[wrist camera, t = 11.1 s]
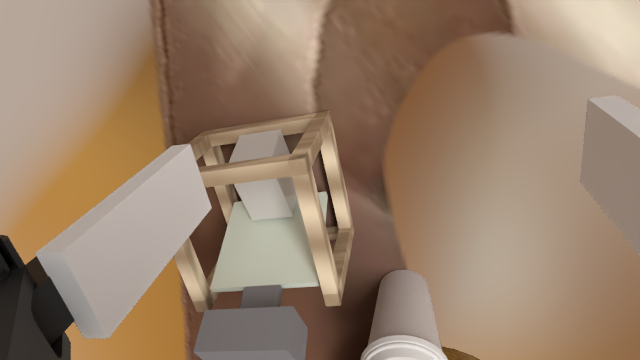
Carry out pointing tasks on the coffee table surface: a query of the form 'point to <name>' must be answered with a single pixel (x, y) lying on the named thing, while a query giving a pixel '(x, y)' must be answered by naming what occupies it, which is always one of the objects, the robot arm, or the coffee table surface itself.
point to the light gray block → (265, 194)
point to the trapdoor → (260, 289)
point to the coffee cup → (403, 321)
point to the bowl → (456, 354)
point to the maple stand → (300, 170)
